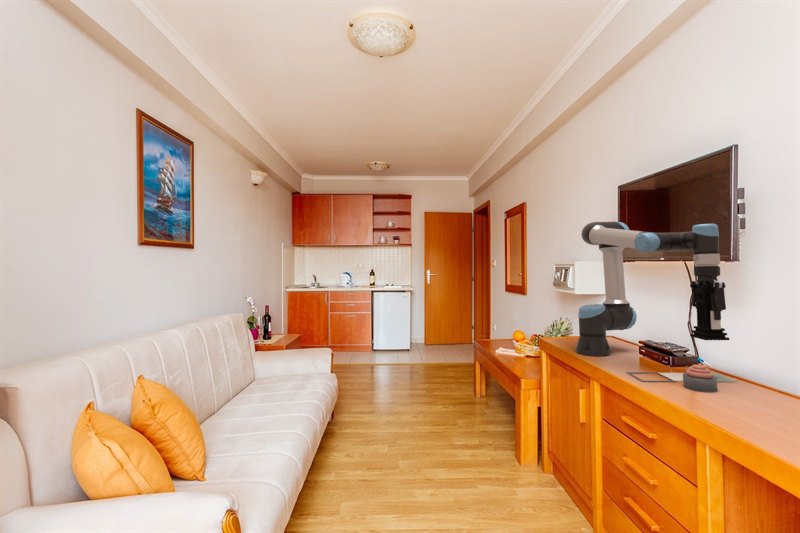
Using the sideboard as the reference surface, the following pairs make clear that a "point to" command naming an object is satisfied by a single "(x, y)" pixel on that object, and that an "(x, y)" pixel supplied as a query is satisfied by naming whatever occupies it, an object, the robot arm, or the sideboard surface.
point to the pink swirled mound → (699, 371)
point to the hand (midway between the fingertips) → (708, 327)
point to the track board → (679, 377)
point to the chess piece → (705, 315)
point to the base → (700, 383)
